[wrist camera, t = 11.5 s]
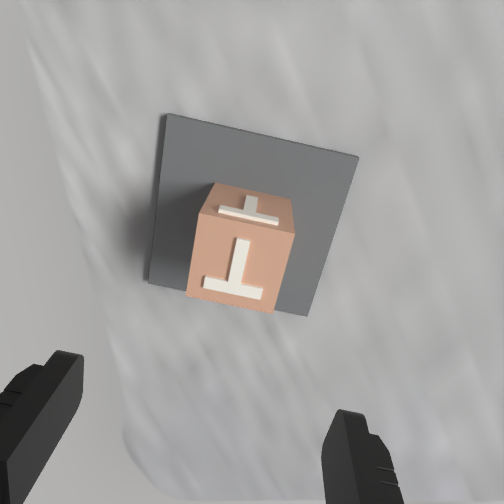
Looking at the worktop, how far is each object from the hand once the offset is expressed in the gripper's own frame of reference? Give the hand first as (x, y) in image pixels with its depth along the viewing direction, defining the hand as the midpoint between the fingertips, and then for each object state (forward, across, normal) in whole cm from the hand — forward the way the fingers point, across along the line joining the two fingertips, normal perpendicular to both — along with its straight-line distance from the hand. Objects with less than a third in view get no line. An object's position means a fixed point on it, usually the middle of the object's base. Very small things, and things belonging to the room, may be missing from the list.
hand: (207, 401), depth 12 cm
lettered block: (+16, 0, 0) cm, 16 cm away
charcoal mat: (+16, 0, 0) cm, 16 cm away
